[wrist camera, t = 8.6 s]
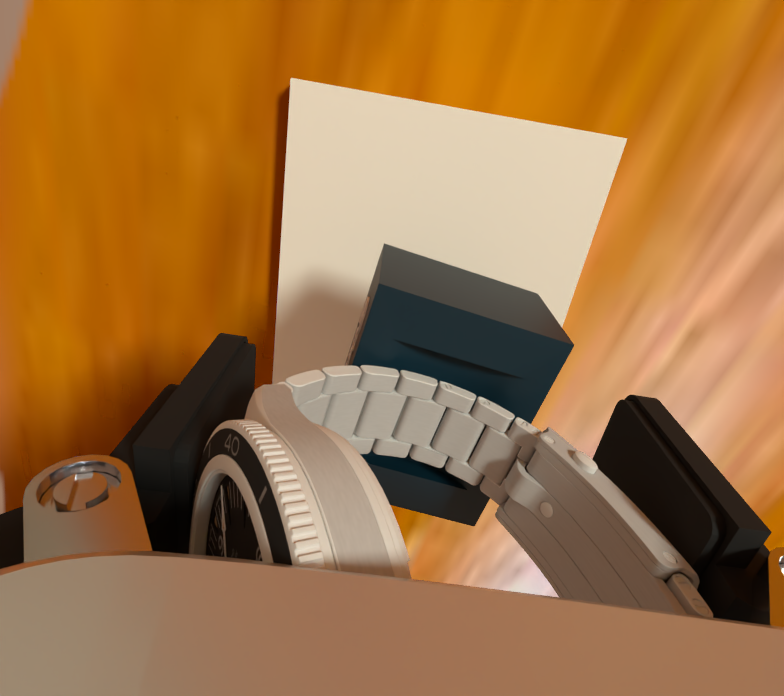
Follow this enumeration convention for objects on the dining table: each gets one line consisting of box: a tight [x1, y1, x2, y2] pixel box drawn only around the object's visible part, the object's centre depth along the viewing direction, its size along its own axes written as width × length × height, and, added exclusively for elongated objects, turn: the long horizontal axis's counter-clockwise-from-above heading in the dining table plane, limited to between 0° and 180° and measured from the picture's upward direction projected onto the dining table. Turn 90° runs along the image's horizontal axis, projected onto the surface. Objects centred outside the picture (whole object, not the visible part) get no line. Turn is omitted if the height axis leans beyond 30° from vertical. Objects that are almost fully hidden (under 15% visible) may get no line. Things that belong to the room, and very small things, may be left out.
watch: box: [188, 243, 713, 618], centre depth 9 cm, size 6×8×11 cm
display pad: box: [272, 78, 627, 384], centre depth 18 cm, size 13×10×1 cm
